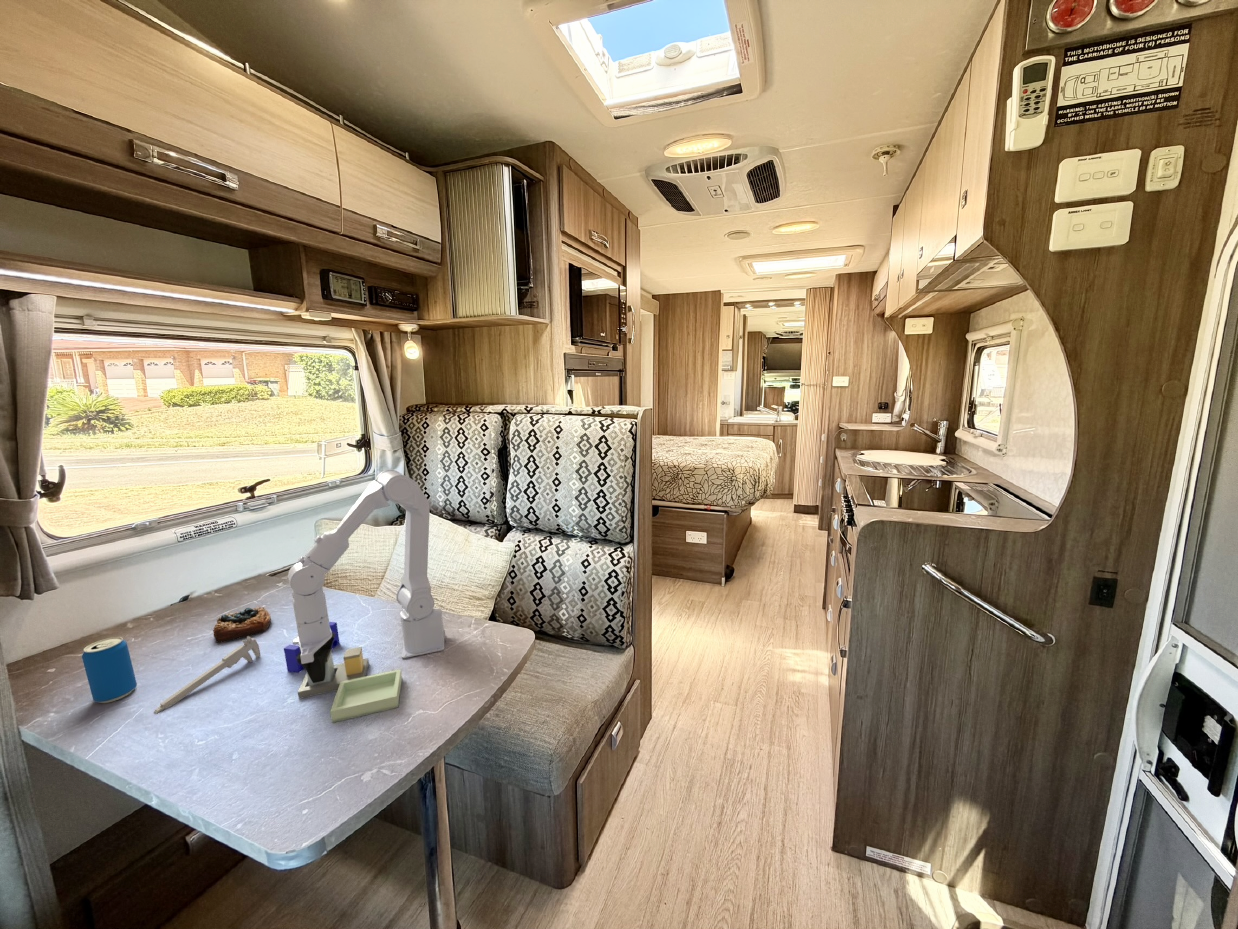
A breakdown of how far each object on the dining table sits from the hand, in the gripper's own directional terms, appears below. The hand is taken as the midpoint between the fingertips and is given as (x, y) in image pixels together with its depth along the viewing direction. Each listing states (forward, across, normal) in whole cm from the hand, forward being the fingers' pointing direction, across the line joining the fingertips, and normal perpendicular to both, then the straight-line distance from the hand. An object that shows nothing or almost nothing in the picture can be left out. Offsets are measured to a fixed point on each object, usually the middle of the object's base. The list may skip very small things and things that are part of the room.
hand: (321, 674), depth 102 cm
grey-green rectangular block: (+2, 0, 0) cm, 2 cm away
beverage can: (+2, -12, -41) cm, 43 cm away
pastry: (+2, -35, -26) cm, 43 cm away
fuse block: (+2, 0, +2) cm, 3 cm away
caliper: (+2, -10, -24) cm, 26 cm away
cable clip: (+2, -13, -5) cm, 14 cm away
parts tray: (+2, +10, +10) cm, 15 cm away
